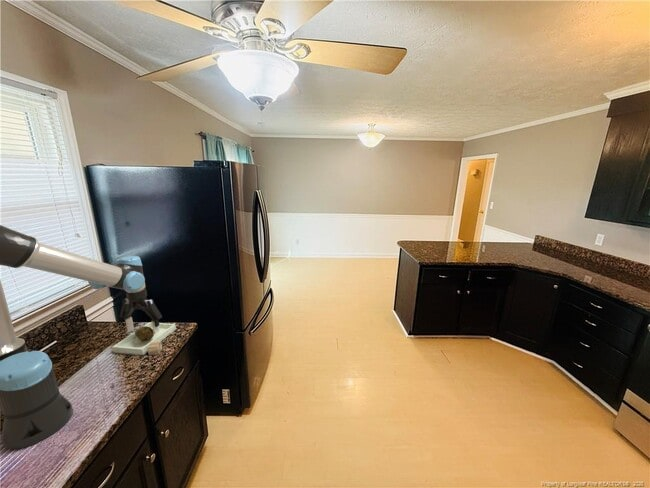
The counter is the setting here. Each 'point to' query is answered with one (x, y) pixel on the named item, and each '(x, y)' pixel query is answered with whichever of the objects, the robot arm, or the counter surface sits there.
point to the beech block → (154, 348)
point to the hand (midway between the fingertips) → (143, 331)
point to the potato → (144, 333)
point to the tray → (137, 346)
